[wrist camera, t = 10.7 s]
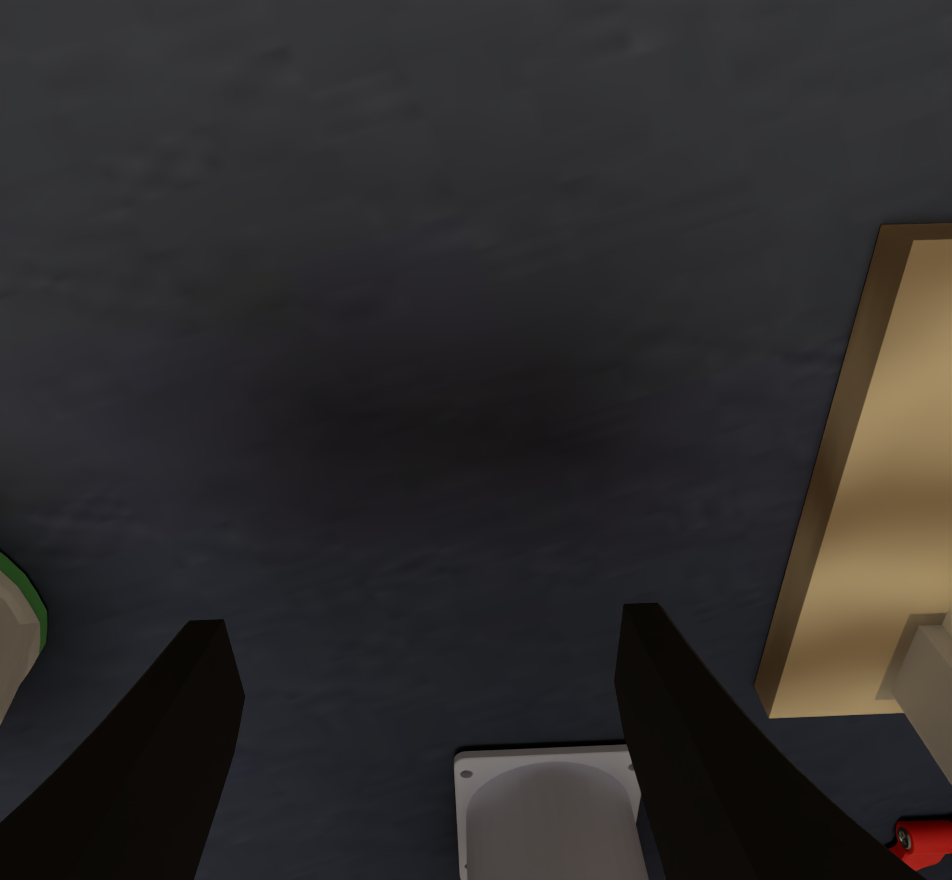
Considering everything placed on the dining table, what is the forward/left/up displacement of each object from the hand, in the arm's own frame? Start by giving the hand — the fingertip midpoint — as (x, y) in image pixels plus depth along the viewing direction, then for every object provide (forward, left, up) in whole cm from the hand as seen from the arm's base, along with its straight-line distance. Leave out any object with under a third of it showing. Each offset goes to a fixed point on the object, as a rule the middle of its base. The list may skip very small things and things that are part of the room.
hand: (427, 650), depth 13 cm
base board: (-4, -18, -9) cm, 21 cm away
